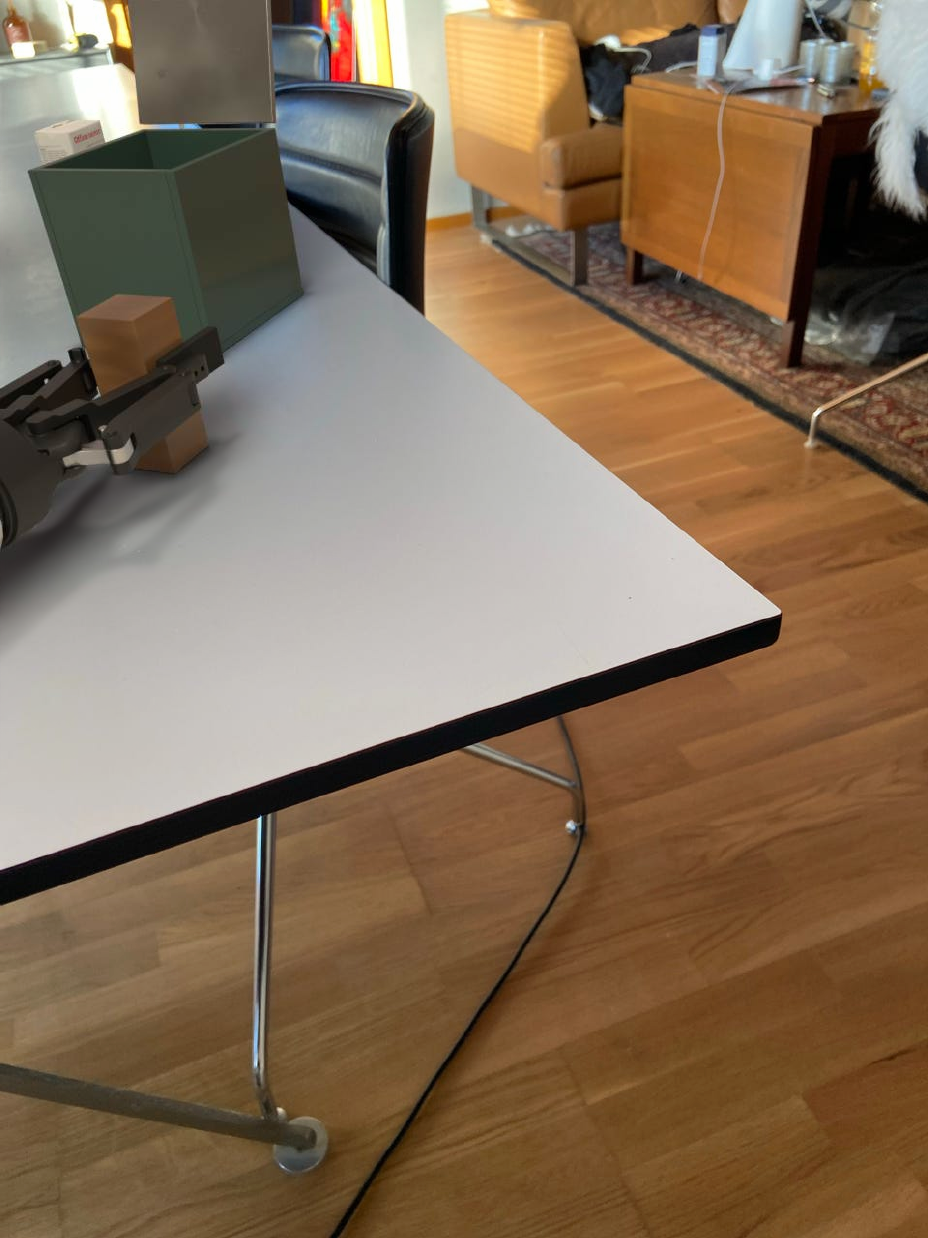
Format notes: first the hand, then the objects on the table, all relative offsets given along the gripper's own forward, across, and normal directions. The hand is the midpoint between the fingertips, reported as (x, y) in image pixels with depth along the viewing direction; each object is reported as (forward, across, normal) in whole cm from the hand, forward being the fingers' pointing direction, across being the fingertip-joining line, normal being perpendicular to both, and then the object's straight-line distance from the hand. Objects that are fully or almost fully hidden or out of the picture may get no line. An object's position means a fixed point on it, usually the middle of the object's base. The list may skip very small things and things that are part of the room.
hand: (185, 342), depth 72 cm
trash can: (+21, -14, -6) cm, 26 cm away
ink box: (+51, -49, -7) cm, 71 cm away
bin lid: (+31, -14, +18) cm, 38 cm away
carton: (-5, 0, -6) cm, 8 cm away
